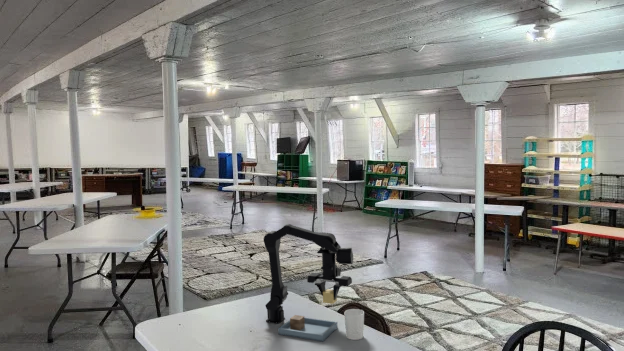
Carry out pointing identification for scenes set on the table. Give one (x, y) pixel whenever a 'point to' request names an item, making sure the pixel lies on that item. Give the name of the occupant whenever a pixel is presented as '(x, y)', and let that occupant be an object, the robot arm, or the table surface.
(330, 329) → the slate tray
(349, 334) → the white cup
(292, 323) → the walnut block
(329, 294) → the ochre block
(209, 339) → the table surface
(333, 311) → the table surface
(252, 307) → the table surface
